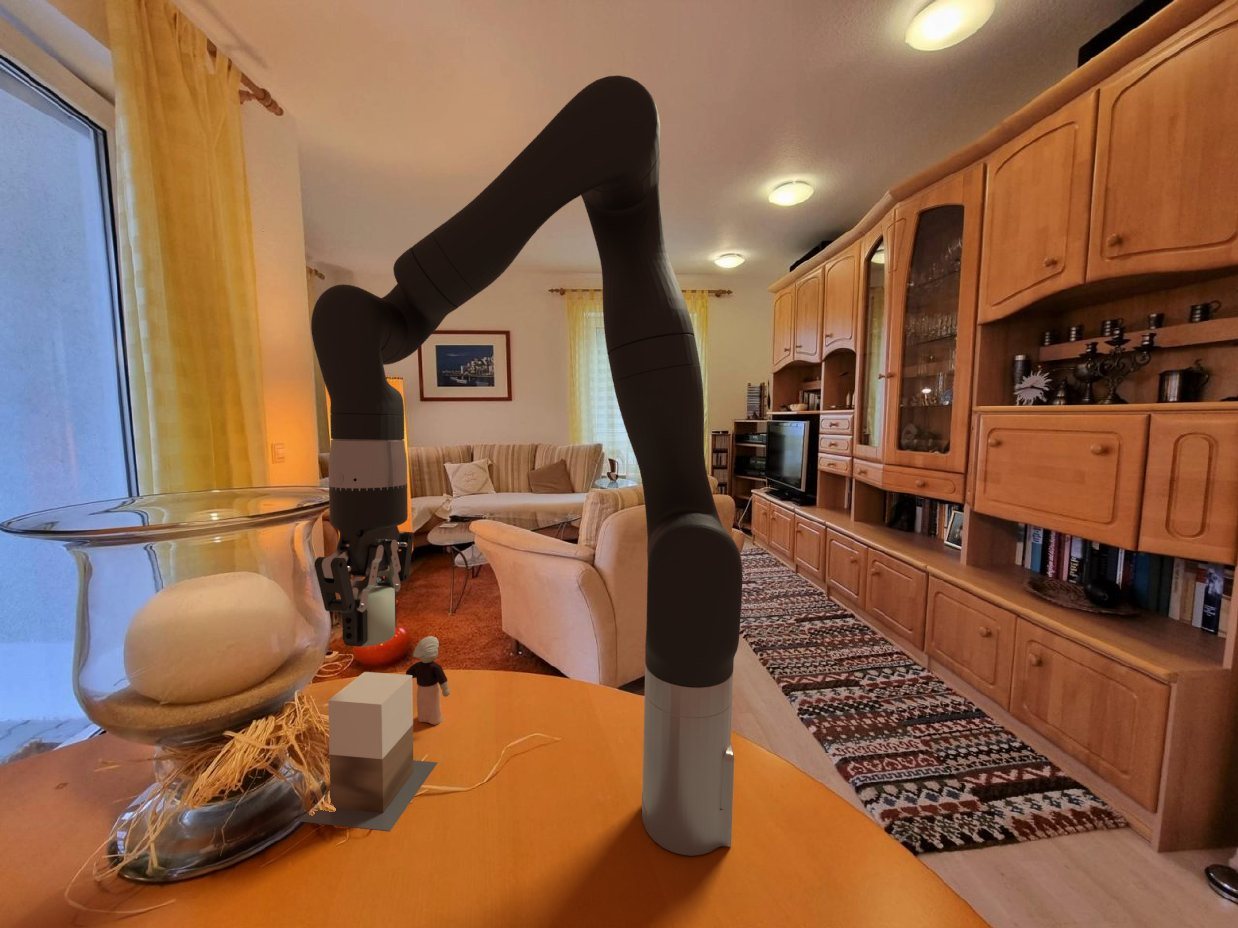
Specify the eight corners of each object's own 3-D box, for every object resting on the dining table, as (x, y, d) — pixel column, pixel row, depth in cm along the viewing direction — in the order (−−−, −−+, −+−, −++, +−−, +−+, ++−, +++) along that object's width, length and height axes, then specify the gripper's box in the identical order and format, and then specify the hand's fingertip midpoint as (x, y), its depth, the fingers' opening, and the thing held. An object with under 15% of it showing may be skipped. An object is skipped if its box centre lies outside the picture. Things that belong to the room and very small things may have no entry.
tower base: (413, 772, 56) (412, 724, 55) (383, 812, 50) (382, 759, 49) (366, 768, 56) (365, 720, 56) (330, 807, 50) (329, 754, 50)
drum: (403, 629, 54) (403, 587, 54) (378, 648, 49) (377, 601, 49) (364, 626, 55) (364, 584, 54) (335, 645, 50) (334, 599, 49)
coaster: (437, 768, 58) (437, 762, 58) (390, 837, 48) (389, 830, 48) (361, 761, 59) (361, 755, 59) (299, 828, 49) (299, 820, 49)
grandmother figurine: (460, 718, 68) (459, 633, 67) (446, 735, 64) (446, 645, 63) (411, 713, 69) (410, 629, 68) (394, 729, 65) (393, 640, 64)
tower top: (412, 724, 55) (412, 675, 55) (382, 759, 49) (381, 704, 49) (365, 720, 56) (364, 671, 56) (329, 754, 50) (328, 700, 50)
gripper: (358, 490, 43) (361, 668, 44) (434, 476, 58) (435, 611, 59) (284, 487, 44) (288, 663, 45) (377, 474, 58) (379, 608, 59)
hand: (371, 633), depth 52 cm, fingers closed on drum, 4 cm apart
